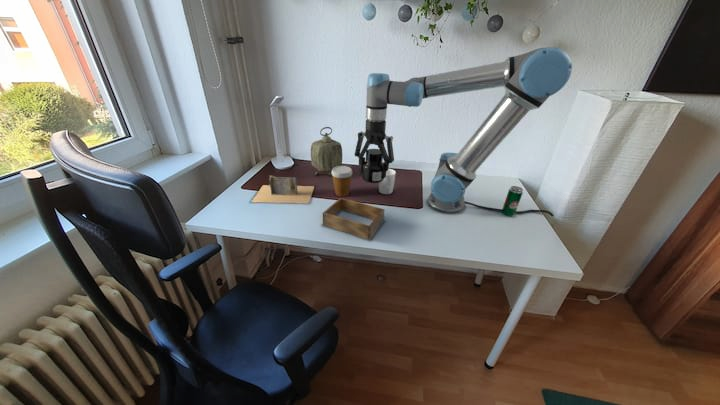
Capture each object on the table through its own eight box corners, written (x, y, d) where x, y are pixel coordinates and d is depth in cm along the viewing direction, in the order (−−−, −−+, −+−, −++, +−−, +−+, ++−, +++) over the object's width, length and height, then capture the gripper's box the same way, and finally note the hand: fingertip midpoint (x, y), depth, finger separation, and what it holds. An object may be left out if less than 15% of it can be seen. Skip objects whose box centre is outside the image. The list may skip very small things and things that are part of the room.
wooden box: (383, 221, 107) (384, 209, 104) (369, 240, 97) (370, 227, 94) (340, 208, 115) (340, 197, 112) (323, 225, 104) (322, 213, 101)
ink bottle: (377, 186, 108) (379, 157, 101) (358, 180, 111) (358, 153, 105) (387, 177, 115) (389, 149, 109) (369, 172, 118) (370, 146, 112)
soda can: (507, 217, 112) (516, 191, 106) (498, 211, 116) (507, 186, 110) (517, 216, 113) (526, 190, 107) (508, 209, 117) (517, 184, 111)
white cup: (396, 193, 128) (398, 174, 123) (381, 196, 125) (383, 176, 120) (389, 186, 134) (390, 167, 129) (374, 188, 131) (375, 169, 126)
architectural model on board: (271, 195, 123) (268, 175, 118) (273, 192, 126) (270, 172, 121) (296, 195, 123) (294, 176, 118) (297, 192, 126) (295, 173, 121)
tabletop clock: (334, 168, 151) (333, 123, 139) (344, 173, 145) (343, 127, 133) (312, 174, 143) (308, 127, 131) (321, 180, 137) (318, 131, 125)
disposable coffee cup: (343, 200, 121) (343, 175, 115) (327, 194, 125) (326, 170, 119) (356, 192, 127) (356, 169, 121) (341, 186, 132) (340, 163, 126)
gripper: (407, 121, 99) (400, 177, 111) (354, 114, 107) (353, 167, 119) (400, 125, 93) (394, 184, 105) (345, 117, 101) (345, 173, 113)
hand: (372, 175), depth 112 cm, fingers closed on ink bottle, 9 cm apart
